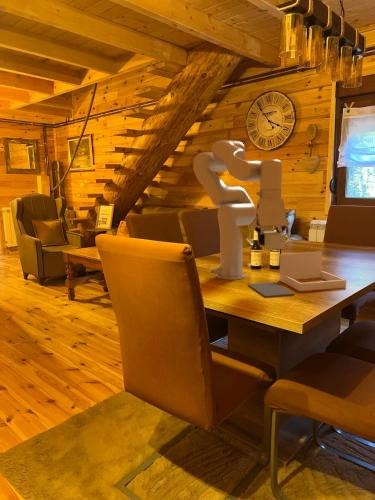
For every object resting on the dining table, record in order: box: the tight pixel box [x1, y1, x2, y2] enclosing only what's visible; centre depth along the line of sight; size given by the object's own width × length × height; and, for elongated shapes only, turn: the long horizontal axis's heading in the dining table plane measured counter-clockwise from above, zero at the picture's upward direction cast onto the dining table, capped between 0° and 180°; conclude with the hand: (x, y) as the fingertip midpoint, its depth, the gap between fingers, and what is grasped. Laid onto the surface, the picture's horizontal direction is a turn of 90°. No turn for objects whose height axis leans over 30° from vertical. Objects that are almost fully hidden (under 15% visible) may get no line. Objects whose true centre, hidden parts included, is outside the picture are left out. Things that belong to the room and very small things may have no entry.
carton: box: [279, 251, 347, 292], centre depth 146 cm, size 19×18×11 cm
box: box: [257, 230, 287, 250], centre depth 136 cm, size 6×12×5 cm, turn 12°
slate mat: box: [247, 281, 295, 298], centre depth 139 cm, size 11×17×1 cm, turn 11°
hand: (269, 243), depth 138 cm, fingers closed on box, 5 cm apart
